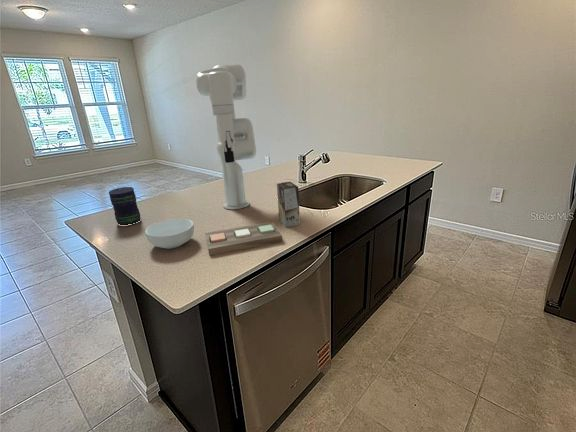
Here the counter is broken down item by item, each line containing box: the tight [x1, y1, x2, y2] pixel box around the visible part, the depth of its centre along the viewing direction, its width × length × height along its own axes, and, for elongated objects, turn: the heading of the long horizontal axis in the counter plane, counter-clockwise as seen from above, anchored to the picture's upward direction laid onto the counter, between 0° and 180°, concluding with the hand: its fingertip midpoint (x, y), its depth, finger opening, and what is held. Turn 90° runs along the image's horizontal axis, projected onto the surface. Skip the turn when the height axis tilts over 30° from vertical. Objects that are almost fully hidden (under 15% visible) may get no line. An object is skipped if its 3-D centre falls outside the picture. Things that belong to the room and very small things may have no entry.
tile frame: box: [204, 221, 283, 256], centre depth 115 cm, size 14×26×2 cm, turn 108°
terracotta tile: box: [210, 233, 226, 243], centre depth 112 cm, size 5×5×3 cm
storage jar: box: [108, 186, 142, 225], centre depth 136 cm, size 10×10×15 cm
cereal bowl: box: [144, 218, 195, 250], centre depth 115 cm, size 17×17×7 cm
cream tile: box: [235, 229, 251, 239], centre depth 115 cm, size 5×5×3 cm
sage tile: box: [258, 225, 274, 234], centre depth 117 cm, size 5×5×3 cm
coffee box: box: [276, 181, 301, 228], centre depth 126 cm, size 9×6×16 cm
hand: (229, 161), depth 116 cm, fingers closed
